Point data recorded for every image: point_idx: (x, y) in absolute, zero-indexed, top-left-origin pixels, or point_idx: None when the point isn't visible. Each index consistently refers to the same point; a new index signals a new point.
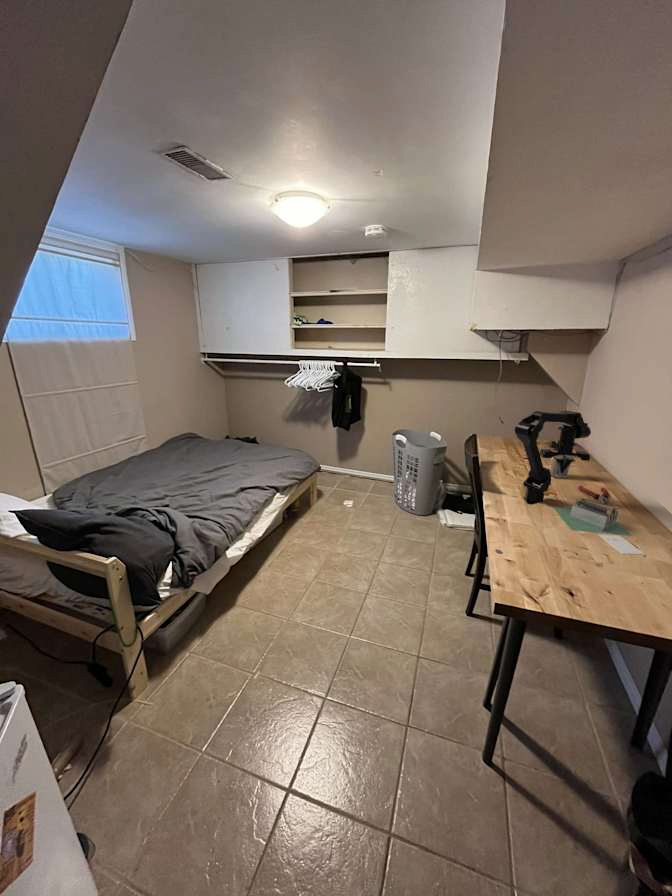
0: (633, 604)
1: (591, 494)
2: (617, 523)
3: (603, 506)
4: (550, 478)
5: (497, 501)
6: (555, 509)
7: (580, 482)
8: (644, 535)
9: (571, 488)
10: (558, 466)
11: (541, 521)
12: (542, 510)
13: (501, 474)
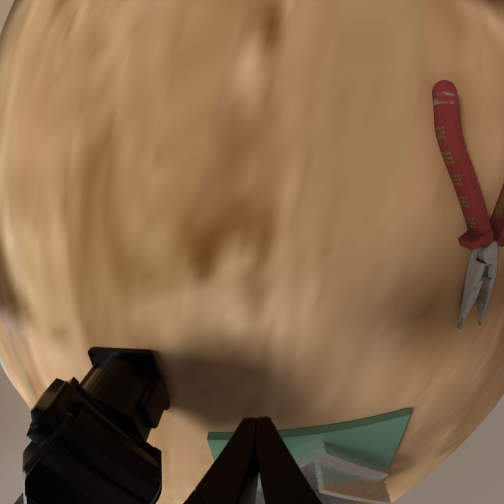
0: None
1: (468, 211)
2: (387, 466)
3: (363, 501)
4: (149, 502)
5: (34, 385)
6: (213, 450)
7: (444, 2)
8: (415, 469)
9: (398, 86)
10: (207, 474)
11: (167, 484)
12: (169, 440)
13: (37, 22)
